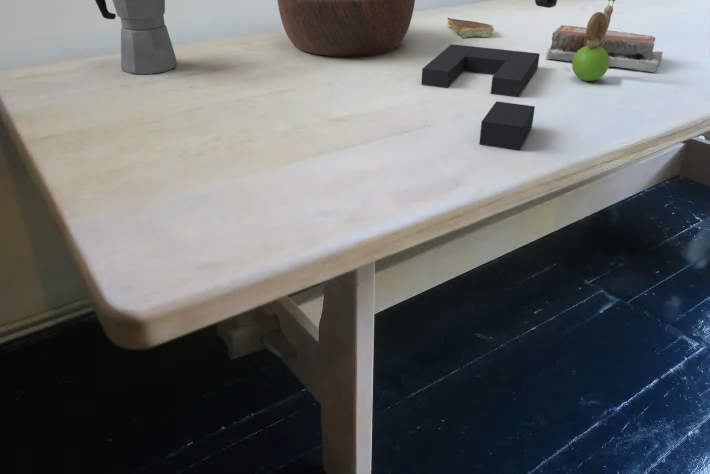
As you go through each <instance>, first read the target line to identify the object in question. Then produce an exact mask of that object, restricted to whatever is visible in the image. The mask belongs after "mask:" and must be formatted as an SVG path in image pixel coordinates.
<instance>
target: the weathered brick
mask: <svg viewBox="0 0 710 474" xmlns="http://www.w3.org/2000/svg"><path fill="white" fill-rule="evenodd" d="M586 28H587V27H583V26H575V25H567V24H566V25H564V24H561V25H560V26H559V27H557V29H556V30H555V31H553V32H552V36H551V44H550V47H549V49H548V48H547V51H546V53H545V58H546V59H549V60H556V61H562V60H563V61H562V62H568V63H569V62H570V63H572V62H573V58H574V56H575V54H576V53H577V52H578V51H579V50H580V49H581V48H583V47H585V46H587V44H586V42H587V41H588V39H587V37H586ZM655 41H656V37H655V36H653V35H647V34H640V33H639V34H638V33H632V32H624V31H617V30H609V29H608V30H607V32H606V35H605V37H604V39H603V40H602V41H601V43H600V44H599V45H598V46H600V47H602V48H603V49H604V50H605V51H606V52H607V54H608V56H609V67H616V68H622V69H629V70H634V71H641V72H642V71H643V72H650V73H655V71H656V70H657V68H658V67H659V64H660V62H661V61H662V59H663V52H664V51H660V50H659V51H658V50H657V51H654V47H655Z"/></svg>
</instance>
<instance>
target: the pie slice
mask: <svg viewBox="0 0 710 474" xmlns="http://www.w3.org/2000/svg"><path fill="white" fill-rule="evenodd" d="M447 25H448V26H449V27H450V28H452V29H453V31H455V32H457V34H459V35H460V37H461V38H462V39H467V38H471V37H481V38H489V37H490V35H491V34H492V33H493V32H494V31H495V28H494V26H493V25H492V24H489V23H484V22H479V21H473V20H464V19H456V18H451V17H450V18H449V17H447Z"/></svg>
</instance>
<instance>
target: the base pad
mask: <svg viewBox="0 0 710 474" xmlns="http://www.w3.org/2000/svg"><path fill="white" fill-rule="evenodd" d="M540 56H541V55H540V53H539V52H530V51H521V50H511V49H503V48H502V49H501V48H490V47H482V46H473V45H472V46H471V45H462V44H453V43H451V44H450V45H448V46H446V48H445V49H444V50H442V51H441V52H440V53H439V54H438V55H436V57H435V58H433V59H432V60H430V62H428V63H427V64H426V65H425V66H423V67H422V69H421V85H422V86H431V87H439V88H446V89H448V88H449V87H450V86H451V85H452V84H453V83H454V82H455V81H456V80H457V79H458V78H459V77H460V76H461V75H462V74H463V73H464V72H470V73H478V74H486V75H493V74H494V75H493V76H492V79H491V87H490V94H494V95H502V96H509V97H517V98H520V96H521V94H522V93H523V92H524V90H525V89H526V87H527V85H528V83H530V80H531V79H532V78H533V76H534V75H535V73H536V71H537V70H538V68H539V61H540Z"/></svg>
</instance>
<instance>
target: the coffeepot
mask: <svg viewBox="0 0 710 474" xmlns="http://www.w3.org/2000/svg"><path fill="white" fill-rule="evenodd" d="M94 2H95V4H96V6H97V7H98V10H99V11H100V14H101V15H102V17H103V18H104V19H105V20H115V19H116V17H119V18H120V23H121V29H120V69H121V70H122V71H124V73H125V72H126V73H127V74H132V73H133V75H154V74H153V73H156V74H161V72H162V73H165V72H169V71H171V70H174V69H176V67H177V57H176V54H175V53H176V52H175V51H174V47H173V44H172V40H171V37H170V34H169V31H168V27H167V25H166V24H165V17H164V15H165V13H166V0H112V3H113V6H114V9H115V12H116V13H112V12H110V11H109V9H108V7H107V1H106V0H94ZM173 68H174V69H173Z"/></svg>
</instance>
